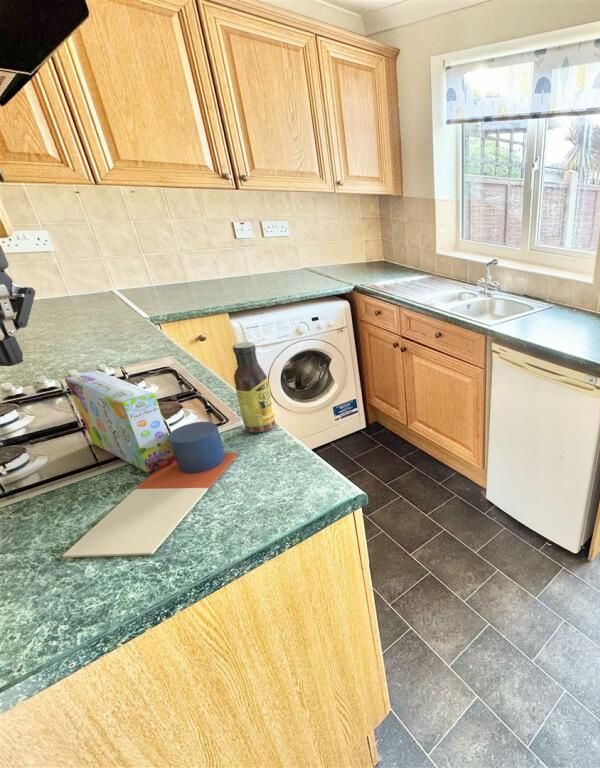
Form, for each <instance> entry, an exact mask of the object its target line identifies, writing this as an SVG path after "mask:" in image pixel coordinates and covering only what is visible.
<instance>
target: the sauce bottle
mask: <svg viewBox="0 0 600 768" xmlns="http://www.w3.org/2000/svg"><path fill="white" fill-rule="evenodd" d="M232 350H233V351H232V352H233V353H234V355H235V359H236V365H237V367H236V370H234V373H233V381H234V385H235V392H236V397H237V401H238V405H239V408H240V409H239V410H240V414H241V418H242V419H241V420H242V422H243V425H244V427H245V430H246V431H247V432H248V433H251V434H261V433H265V432H267V431H270V430H272V429H273V428H274V427H275V426H276V416H275V415H276V414H275V410H274V405H273V399H272V395H271V389H270V385H269V379H268V375H266V373H265V371H264V370H263V369H262V366H261V365H260V364H259V361H258V357H257V354H256V353H257V352H256V345H255V343H254V342H250V341H243V342H238V343H235V344H233V345H232ZM272 419H273V420H272Z"/></svg>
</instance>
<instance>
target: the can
mask: <svg viewBox="0 0 600 768" xmlns="http://www.w3.org/2000/svg"><path fill="white" fill-rule="evenodd" d="M168 439H169V442H170V444H171V447H172V450H173V453H174V456H175V459H176V462H177V465H178V468H179V470H180V471H181V472H183V473H187V474H195V473H201V472H205V471H208V470H211V469H213V468H215V467H217V466H219V465H220V464H221V463H222V462H223V461H224V460H225V453H226V452H225V450H224V445H223V442H222V439H221V433H220V431H219V428H218V425H217V424H216V423H215V422H211V421H197V422H196V421H195V422H191V423H187V424H184V425H182V426H179V427H176V428H175V429H174V430H172V431H171V432H170V433H169V434H168Z"/></svg>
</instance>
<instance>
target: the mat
mask: <svg viewBox="0 0 600 768" xmlns="http://www.w3.org/2000/svg"><path fill="white" fill-rule="evenodd" d="M237 456H238V452H225V460H224V461H223V462H222V463H221V464H220V465H219V466H217V467H215V468H213V469H211V470H208V471H205V472H201V473H195V474H187V473H183V472H181V471H180V470H179V468H178V465H177V462H176V461H174V462H172V463H170V464H167V465H165V466H162V467H160V468H157V469H155V470H154V471H152V473H151V474H150V475H149V476H148V477H147V478H146V479H144V480H143V481H142V482H141V483H140V484H139V485H138V486H137V487H136V488H135V489H134V490H133V491H131V492H130V493H129V494H128V495H127V496H126V497H125V498H123V500H121V501H120V502H119V503H118V504H117V505H116V506H115V507H114V508H113V509H111V510H110V511H109V512H108V513H107V514H106V515H105V516H104V517H103V518H102V519H100V521H99V522H98V523H96V524H95V525H94V526H93V527H91V529H90V530H88V532H86V533H85V534H84V535H83V536H82V537H81V538H79V540H78V541H77V542H75V544H73V545H72V546H71V547H70V548H69V549H68V550H67V551H65V552H64V553H63V554H62V555H61V557H62V559H63V558H64V559H66V558H67V559H68V558H95V557H96V558H97V557H123V556H127V557H128V556H153V555H154V553H155V552H156V551H158V549H159V548H160V546H161V545H162V544H163V543H164V542H165V541H166V539H167V538H168V537H169V536H170V535H171V534H172V533H173V531H174V530H175V529H176V528H177V527H178V525H179V524H180V523H181V522H182V521H183V519H184V518H185V517H186V516H187V515H188V514H189V513H190V511H191V510H192V509H193V508H194V507H195V506H196V505H197V503H198V502H199V501H200V500H201V498H203V496H204V495H205V494H206V493H207V491H208V490H209V489H210V488H211V487H212V486H213V485H214V483H215V482H216V481H217V480H218V478H219V477H220V476H221V475H222V474H223V473H224V471H225V470H226V469H227V468H228V467H229V466H230V464H232V462H233V461H234V460H235V459H236V457H237Z"/></svg>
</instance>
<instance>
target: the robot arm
mask: <svg viewBox="0 0 600 768" xmlns="http://www.w3.org/2000/svg"><path fill="white" fill-rule="evenodd" d="M9 264H10V263H9V261H8V260H7V257H6V255H5V252H4V250H3V247H2V246H1V244H0V367H13V366H16V365H18V364H20V363H23V362H24V358H23V357H24V354H23V351H22V349H21V347H20V345H19V342H18V340H17V338H16V335H17V333H18V332H17V331H19V330H20V329H24V328H27V326H28V323H29V318H30V315H31V311H32V307H33V304H34V300H35V296H36V290H35V288H33V287H30V286H29V287H28V286H27V287H26V286H21V285H19V284H16V283H14V280H13V279H12V277H11V276H10V275H9V274H7V272H6V271H5V270H6V269H8V268H9ZM15 313H16V315H15Z"/></svg>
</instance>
